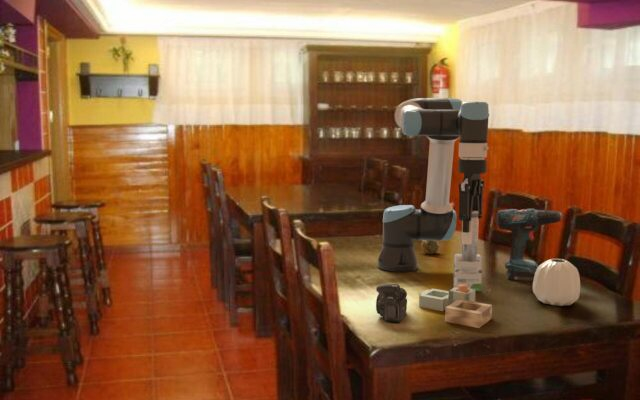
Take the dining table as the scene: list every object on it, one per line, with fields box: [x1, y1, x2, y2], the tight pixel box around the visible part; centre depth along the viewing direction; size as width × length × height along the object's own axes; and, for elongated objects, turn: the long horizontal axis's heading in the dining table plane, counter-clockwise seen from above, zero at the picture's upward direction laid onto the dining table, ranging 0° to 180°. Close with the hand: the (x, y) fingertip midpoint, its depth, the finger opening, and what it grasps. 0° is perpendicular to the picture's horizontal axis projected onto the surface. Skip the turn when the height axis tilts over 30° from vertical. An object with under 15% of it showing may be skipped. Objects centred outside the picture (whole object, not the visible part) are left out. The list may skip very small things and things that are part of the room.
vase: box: [532, 258, 581, 307], centre depth 197 cm, size 14×14×13 cm
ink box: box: [453, 253, 483, 292], centre depth 211 cm, size 9×5×12 cm, turn 87°
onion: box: [420, 240, 440, 255], centre depth 266 cm, size 8×8×8 cm
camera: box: [375, 283, 408, 323], centre depth 182 cm, size 13×10×10 cm
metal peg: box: [461, 210, 479, 262], centre depth 178 cm, size 4×4×14 cm
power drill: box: [496, 208, 566, 282], centre depth 226 cm, size 9×23×25 cm, turn 78°
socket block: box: [418, 286, 477, 312], centre depth 192 cm, size 16×10×6 cm, turn 56°
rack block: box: [444, 299, 493, 329], centre depth 180 cm, size 10×10×4 cm
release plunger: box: [458, 284, 468, 293], centre depth 189 cm, size 3×3×5 cm
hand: (469, 242), depth 178 cm, fingers closed on metal peg, 4 cm apart
